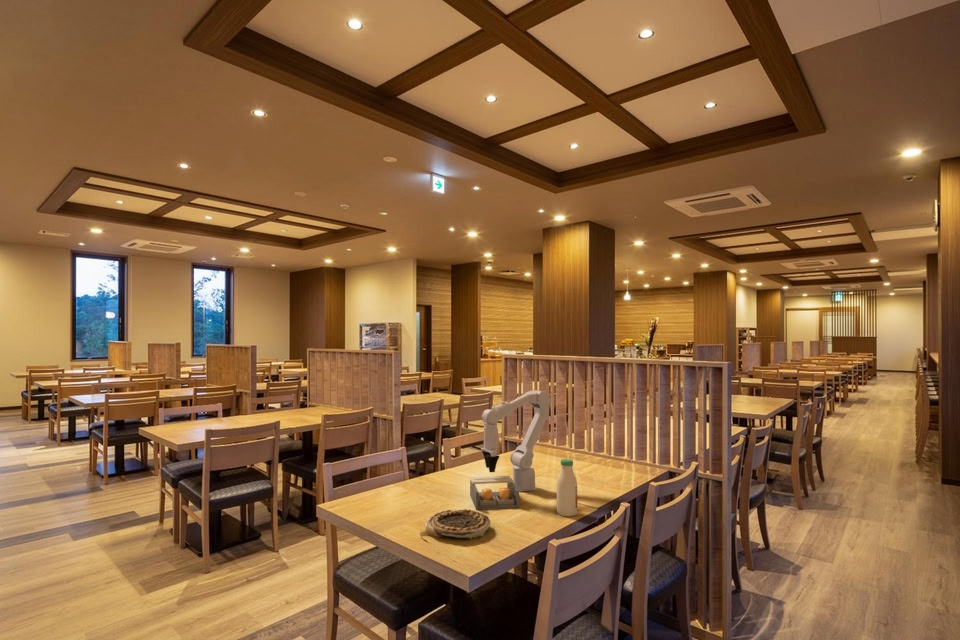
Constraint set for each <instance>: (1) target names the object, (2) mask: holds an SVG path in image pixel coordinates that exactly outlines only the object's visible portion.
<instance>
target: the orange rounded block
mask: <svg viewBox="0 0 960 640" xmlns="http://www.w3.org/2000/svg"><path fill="white" fill-rule="evenodd" d="M499 492H500V500H506V499H510V489H509V488H507V487H500V488H499Z"/></svg>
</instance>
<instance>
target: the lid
mask: <svg viewBox="0 0 960 640" xmlns="http://www.w3.org/2000/svg"><path fill="white" fill-rule="evenodd" d="M470 480H471V482H472V484H475V485H485V484H486V485H487V484H507V483H513V478H512V477H511V476H510V475H498V476H497V475H496V476H495V475H493V476H472V477H470V479H469V481H470Z"/></svg>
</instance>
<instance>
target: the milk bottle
mask: <svg viewBox="0 0 960 640" xmlns="http://www.w3.org/2000/svg"><path fill="white" fill-rule="evenodd" d="M573 461H574V460H572V459H569V458H562V459H561V460H560V467H561V468H560V472H559V474H558V476H557V480H556V513H557V515H559V516H561V517H575V516H577V515H578V481H577V477H576V475H575V472H574V469H573V467H574V462H573Z"/></svg>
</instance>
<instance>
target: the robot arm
mask: <svg viewBox="0 0 960 640" xmlns="http://www.w3.org/2000/svg"><path fill="white" fill-rule="evenodd" d="M551 402H552V399H551V396H550V394H549V393H548V392H547V391H543V390H536V389H531V390H529V391H526V392H525V393H524V394H522V395H521V396H519V397H517V398H515V399H514V400H512V401H509V402H508V401H500V404H497V405H496V406H492V407H491V409H489V408H487V409H485V410H483V412H482V414H481V416H480V418H481V420H482V422H483V447H481V448H480V450H481V452H482V455H483V458H484V463H485V466H486V467H485V468H487V469H488V471H489V473H495V472H496V468H497V462H498V460H499V459H500V455H497V451H498V423H499V421H500V420H501V419H504V418H505V417H508V416H509V415H511V414H512V413H513V410H515V409H518V408H519V407H521V406H522V407H523V406H524V405H527V404H530V405H531V406H532V407H533V410H534V411H535V414H534V416H533V418H532V420H531V423H530V425H529V427H528V429H527V430H526V433H525V435H524V437H523V440H522V442H521V443H520V444H519V445H518V446H517V447H516V448H515V450H514V451H513V452H512V453H511V454H510V458H509V459H510V462H511V464H512V480H513V483H514V484H515V486H516V487H517V488H518V490H519V492H527V491H529V492H531V491H536V471H535V469H534V468H533V467H532V465H533V458H534V456H535V455H534V451H533V449H534V448H535V445H536V443H537V441H538V438H539V436H540V434H541V432H542V430H543V427H544V426H545V423H546V421H547V419H548V416H549V413H550V404H551Z"/></svg>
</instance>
